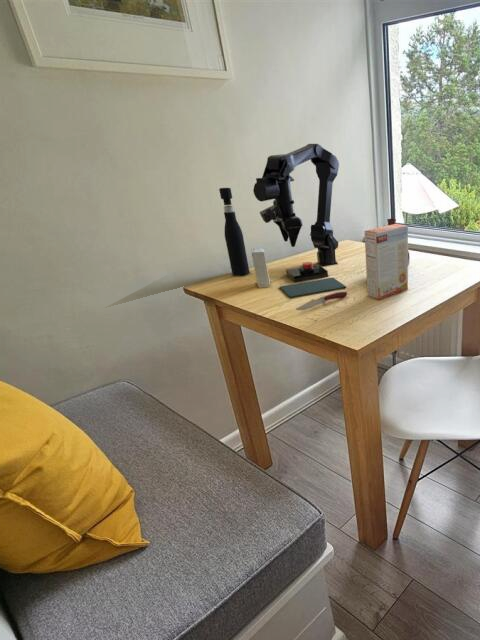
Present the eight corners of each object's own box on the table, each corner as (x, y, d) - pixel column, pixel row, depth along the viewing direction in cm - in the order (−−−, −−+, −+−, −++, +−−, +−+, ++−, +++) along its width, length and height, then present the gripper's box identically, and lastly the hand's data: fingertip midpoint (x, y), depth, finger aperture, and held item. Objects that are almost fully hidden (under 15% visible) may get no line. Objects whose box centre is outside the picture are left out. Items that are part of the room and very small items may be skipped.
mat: (333, 279, 156) (332, 277, 155) (346, 288, 146) (346, 286, 146) (279, 288, 148) (279, 286, 147) (290, 298, 139) (290, 296, 138)
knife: (345, 296, 139) (344, 288, 138) (347, 297, 138) (347, 288, 137) (294, 314, 127) (293, 305, 125) (297, 315, 126) (296, 306, 124)
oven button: (311, 266, 157) (310, 261, 157) (314, 268, 155) (314, 263, 154) (302, 267, 156) (301, 262, 155) (305, 269, 153) (304, 265, 152)
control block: (318, 270, 166) (317, 259, 163) (328, 277, 157) (328, 266, 155) (286, 275, 160) (284, 264, 158) (295, 282, 152) (293, 271, 150)
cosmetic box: (270, 286, 149) (265, 251, 143) (257, 288, 148) (251, 252, 142) (269, 281, 154) (264, 247, 148) (256, 282, 153) (250, 248, 147)
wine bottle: (234, 277, 159) (216, 190, 144) (231, 272, 164) (213, 188, 148) (251, 274, 162) (236, 188, 146) (247, 270, 167) (232, 186, 151)
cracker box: (395, 285, 148) (395, 222, 137) (408, 289, 144) (409, 225, 133) (366, 295, 139) (363, 229, 129) (378, 300, 136) (377, 232, 125)
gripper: (253, 195, 149) (261, 241, 157) (266, 203, 134) (273, 252, 143) (284, 193, 153) (290, 237, 161) (300, 199, 139) (305, 248, 147)
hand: (289, 244), depth 153 cm, fingers open, 9 cm apart
